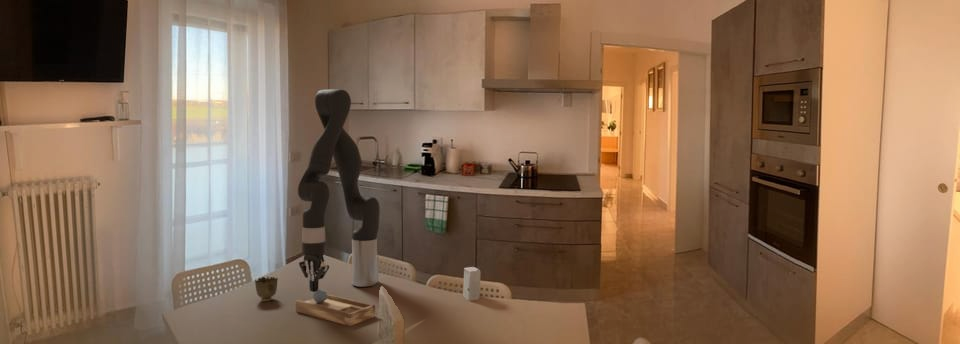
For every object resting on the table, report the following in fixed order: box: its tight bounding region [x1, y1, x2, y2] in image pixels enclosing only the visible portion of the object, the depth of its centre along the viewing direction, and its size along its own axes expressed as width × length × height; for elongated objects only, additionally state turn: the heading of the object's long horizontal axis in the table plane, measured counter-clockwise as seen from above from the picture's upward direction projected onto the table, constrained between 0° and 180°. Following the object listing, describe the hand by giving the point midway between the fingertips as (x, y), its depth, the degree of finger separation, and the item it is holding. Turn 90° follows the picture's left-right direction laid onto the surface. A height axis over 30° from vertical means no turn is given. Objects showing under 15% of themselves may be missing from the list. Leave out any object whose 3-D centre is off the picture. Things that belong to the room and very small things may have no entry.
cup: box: [254, 276, 279, 303], centre depth 190 cm, size 8×7×8 cm
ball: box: [312, 289, 328, 303], centre depth 181 cm, size 4×4×4 cm
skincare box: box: [462, 266, 482, 302], centre depth 192 cm, size 6×4×12 cm
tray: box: [295, 293, 376, 327], centre depth 178 cm, size 11×25×4 cm, turn 58°
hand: (313, 291), depth 183 cm, fingers closed
